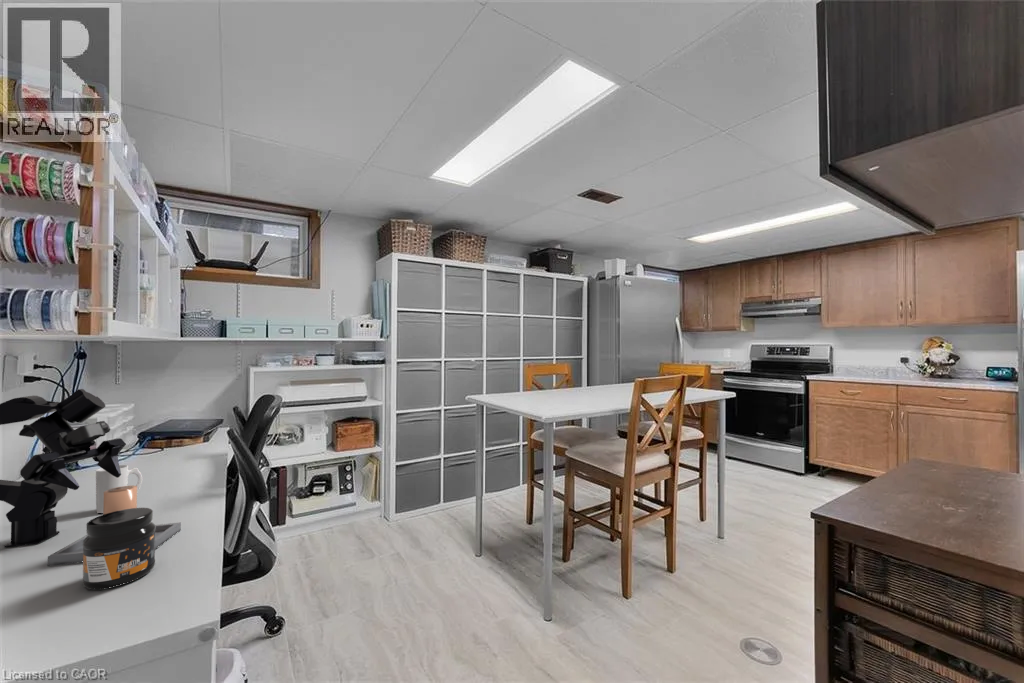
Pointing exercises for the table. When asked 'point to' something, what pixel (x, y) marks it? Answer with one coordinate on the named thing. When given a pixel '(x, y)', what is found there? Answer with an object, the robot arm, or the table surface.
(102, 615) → the table surface
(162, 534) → the charcoal tray
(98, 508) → the mug
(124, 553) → the supplement container
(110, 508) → the terracotta cup
